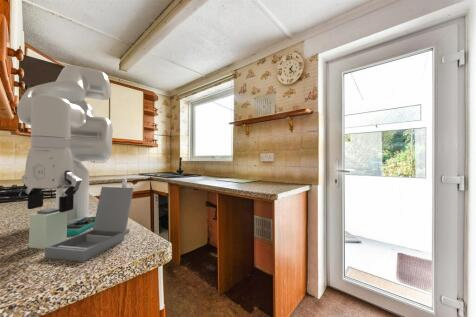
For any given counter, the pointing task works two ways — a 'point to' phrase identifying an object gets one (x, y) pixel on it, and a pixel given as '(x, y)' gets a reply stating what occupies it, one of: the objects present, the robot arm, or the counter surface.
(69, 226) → the digital multimeter
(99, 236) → the case
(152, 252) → the counter surface
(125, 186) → the clear capped tube
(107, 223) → the lid
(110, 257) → the counter surface
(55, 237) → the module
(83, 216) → the robot arm
